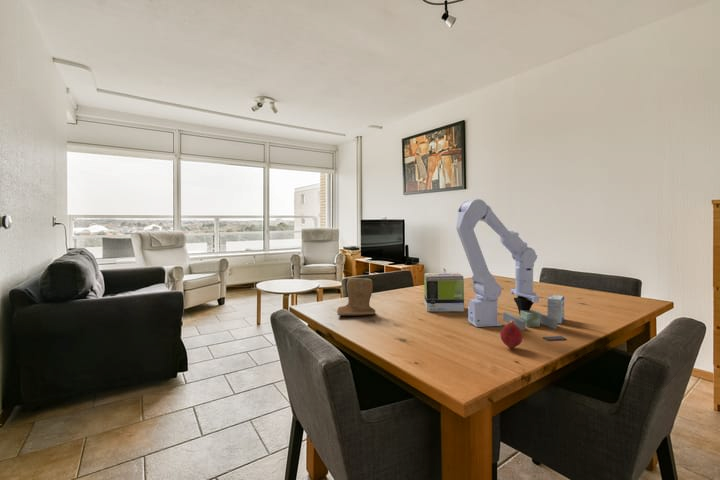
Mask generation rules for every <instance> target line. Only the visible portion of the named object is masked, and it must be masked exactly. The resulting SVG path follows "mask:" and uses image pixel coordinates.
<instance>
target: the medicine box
mask: <svg viewBox="0 0 720 480" xmlns="http://www.w3.org/2000/svg"><path fill="white" fill-rule="evenodd" d="M546 304H547V306H546V307H547V308H546V309H547V313H546V314H547V316H549V317H551V318H554V319H556V320H557V325H558V324H559V325H562V323H563V322H564V320H565V296H564V295H558V294H557V295H556V294H552V295H550V296H549V297H548V298H547V302H546Z"/></svg>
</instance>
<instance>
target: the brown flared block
mask: <svg viewBox="0 0 720 480" xmlns="http://www.w3.org/2000/svg"><path fill="white" fill-rule="evenodd" d="M373 285H374V283H373V280H372V279H371V278H362V277H348V278H347V281H346V293H347V299H348V303H347V304H346V305H342V306H339V307H338V308H337V312H336V313H337V316H343V317H351V316H355V317H357V316H368V315H375V314H376V309H375V308H373V307H371V306H370V301H371V297H372V295H373Z"/></svg>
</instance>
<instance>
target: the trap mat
mask: <svg viewBox="0 0 720 480" xmlns="http://www.w3.org/2000/svg"><path fill="white" fill-rule="evenodd" d="M542 339H544V340H545V341H547V342H548V341H549V342H551V341H567V338H566V337H565V336H562V335H555V336H554V335H553V336H543V337H542Z"/></svg>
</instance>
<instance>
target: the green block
mask: <svg viewBox="0 0 720 480" xmlns="http://www.w3.org/2000/svg"><path fill="white" fill-rule="evenodd" d="M535 311H536V310H533V309H532V310H531V309H530V310H523V311H520V314H519V319H522V320H524V321H525V328H526V327H527V328H533V327H534V328H536V327H538V328H539V327H540V326H541V323H540V313H541V312H539V311H537V312H535ZM538 312H539V313H538Z"/></svg>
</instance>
